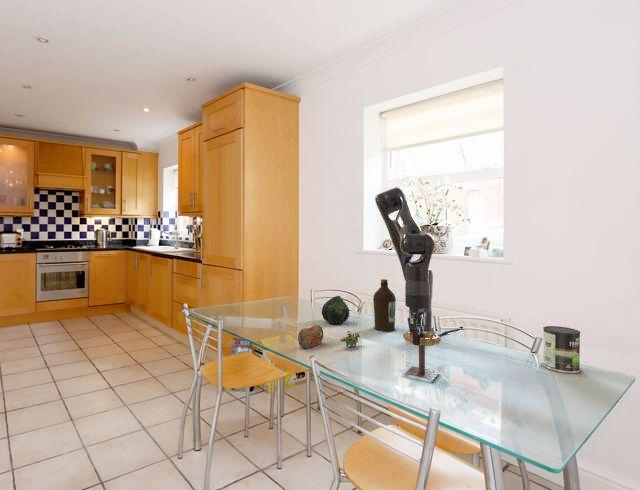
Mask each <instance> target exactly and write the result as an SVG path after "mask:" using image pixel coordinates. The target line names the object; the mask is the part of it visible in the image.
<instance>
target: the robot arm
mask: <svg viewBox="0 0 640 490" xmlns="http://www.w3.org/2000/svg"><path fill="white" fill-rule="evenodd" d="M374 202H375V205H376V207H377V209H378V212H379V213H380V217H381V218H382V220H383V222H384V224H385V227H386V229H387V231H388V235H389V237H390V240H391V243H392V246H393V249H394V250H395V253H396V255H397V258H398V261H399V264H400V267H401V271H402V274H403V279H404V281H405V285H404V286H405V287H404V293H405V294H404V297H405V299H404V303H405V306H406V307H407V308H408V317H407V323H408V331H410V333H413V344H412V345H414V346H419V345H420V338H423V331H426V332H431V333H434V334H436V332H435V331H434V327H433V307H432V306H433V305H432V304H433V303H432V302H433V290H434V289H433V287H434V273H433V271H432V269H431V268H430V266H431V260H432V256H433V253H434V251H435V245H436V243H435V239H434V237H433V236H432V235H431V234H430V233H421V232H422V230H421V228H420V225H419V224H418V222H417V220H416V219H415V216H414V215H413V212H412V209H411V207H410V204H409V202H408V199H407V197H406V194H405V193H404V191H403V190H402V188H400V187H399V186H397V187H393V188H390V189H388V190H387V189H386V190H385V191H382V192H380V193H378V194H376V195H375V198H374ZM396 212H397V214H396V217H395V218H394V217H393V216H391V214H393V213H396ZM415 255H416V256H417V255H420V256H419V257H418V259H416V260H413V258H414V257H415ZM458 328H461V329H462V328H464V326H459V327H458ZM458 328H456V329H451V330H446V331H443V332H442V333H440V334H437V335H438V336H439V337H440V338H441V337H443V336H444V335H446V334H451V333H455V332H459V331H460V330H461V329H458Z"/></svg>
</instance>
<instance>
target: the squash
mask: <svg viewBox="0 0 640 490" xmlns="http://www.w3.org/2000/svg"><path fill="white" fill-rule="evenodd" d="M321 316H322V318H323V320H324V321H327V322H329V323H330V324H332V325H334V324H335V325H336V324H338V325H340V324H341V323H345V322H347V320H348V319H349V318H350V307H349V306H348V305H347V303H346V302H345V300H344V299H343V298H342V297H341V295H336V296H333V297H331V298H330V299H328V300H327V301H326V302H325V303H324V304H323V305H322V308H321Z"/></svg>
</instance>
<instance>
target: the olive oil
mask: <svg viewBox="0 0 640 490" xmlns="http://www.w3.org/2000/svg"><path fill="white" fill-rule="evenodd" d="M395 295H396V294H395V292H393V291H392V290H391V289H390V288H389V282H388V279H387V278H383V279H382V278H381V279H380V288H378V289H377V290H376V291H375V292H374V294H373V299H372V300H373V301H372V302H373V316H374V319H373V320H374V328H375V330H376V331H380V332H393V331H395V328H396V306H397V305H396V302H397V300H396V299H397V298H396V296H395Z"/></svg>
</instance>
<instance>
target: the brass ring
mask: <svg viewBox="0 0 640 490" xmlns="http://www.w3.org/2000/svg"><path fill="white" fill-rule="evenodd" d="M423 332H424V333H425V338H420V345H425V346H429V347H430V346H436V345H439V344H440V343H441V342H442V338H441V336H440V337H439V336H438V335H439V334H437V333H435V334H434V333H431V332H426V331H423ZM402 338H403V340H404V341H405V342H407V343H409V344H412V345H413V333H410V331H409V330H408V331H406V332H404V333H403V334H402Z"/></svg>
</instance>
